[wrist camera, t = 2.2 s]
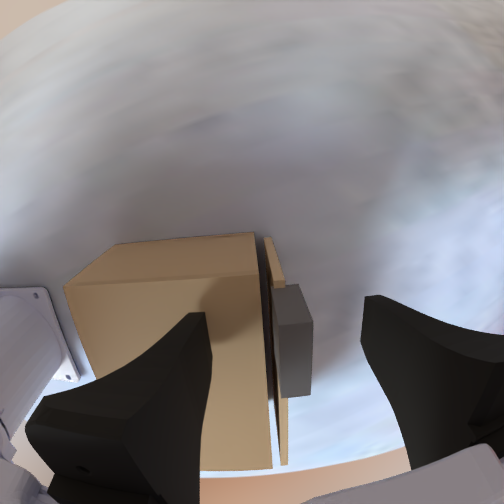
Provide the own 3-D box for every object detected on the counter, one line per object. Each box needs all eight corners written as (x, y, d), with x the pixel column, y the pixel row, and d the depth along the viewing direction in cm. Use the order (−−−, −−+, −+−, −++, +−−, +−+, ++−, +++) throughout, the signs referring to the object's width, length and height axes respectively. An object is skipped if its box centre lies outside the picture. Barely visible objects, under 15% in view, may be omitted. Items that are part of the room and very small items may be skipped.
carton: (160, 405, 20) (143, 466, 15) (114, 244, 16) (62, 286, 11) (266, 402, 20) (272, 468, 15) (253, 232, 16) (259, 274, 11)
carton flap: (272, 401, 20) (283, 499, 12) (262, 237, 16) (277, 316, 8) (286, 399, 20) (301, 497, 12) (280, 236, 16) (313, 312, 8)
